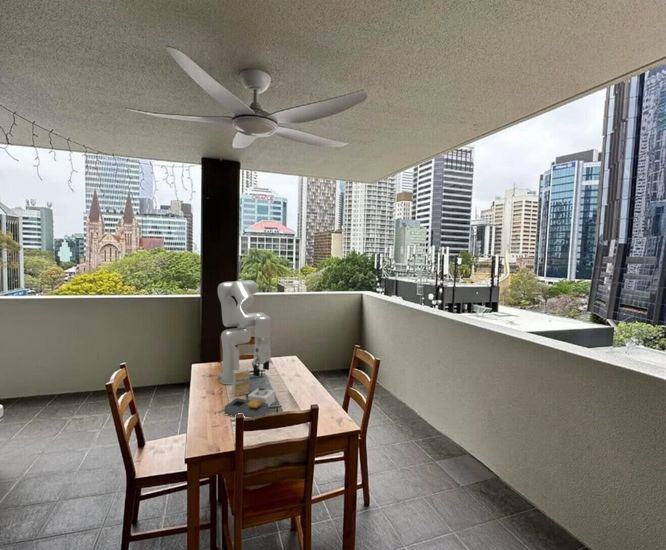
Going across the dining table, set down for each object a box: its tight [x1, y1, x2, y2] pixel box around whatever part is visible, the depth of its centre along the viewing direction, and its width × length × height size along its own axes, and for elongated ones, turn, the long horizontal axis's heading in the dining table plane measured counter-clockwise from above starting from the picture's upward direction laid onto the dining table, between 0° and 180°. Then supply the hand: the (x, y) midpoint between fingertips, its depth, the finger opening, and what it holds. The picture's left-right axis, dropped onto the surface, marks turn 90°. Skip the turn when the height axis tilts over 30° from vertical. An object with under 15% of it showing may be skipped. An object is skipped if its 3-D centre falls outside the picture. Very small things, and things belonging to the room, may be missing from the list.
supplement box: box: [231, 368, 251, 397], centre depth 185 cm, size 8×5×13 cm, turn 122°
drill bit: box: [257, 379, 266, 396], centre depth 173 cm, size 4×4×12 cm
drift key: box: [248, 399, 262, 409], centre depth 162 cm, size 5×5×5 cm
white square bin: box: [247, 387, 276, 408], centre depth 173 cm, size 10×10×6 cm
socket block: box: [223, 397, 269, 418], centre depth 164 cm, size 18×10×4 cm, turn 72°
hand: (261, 372), depth 173 cm, fingers open, 9 cm apart
